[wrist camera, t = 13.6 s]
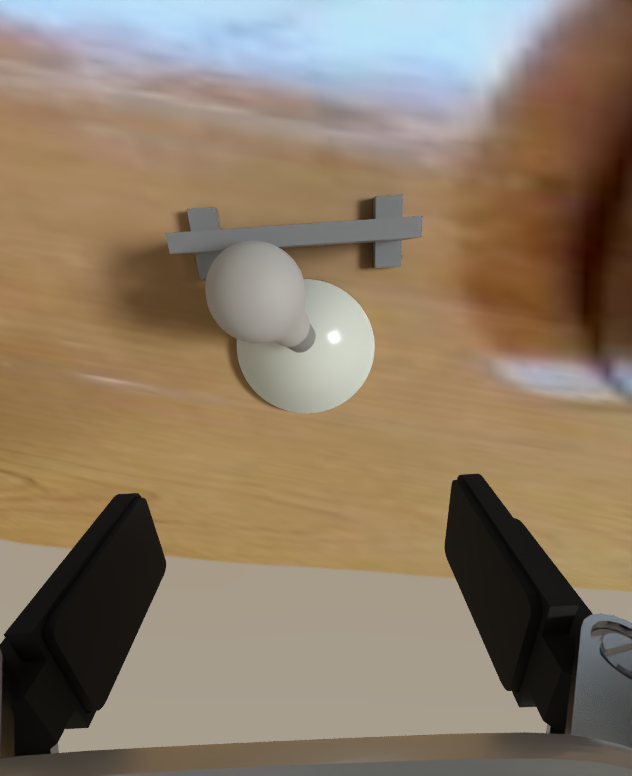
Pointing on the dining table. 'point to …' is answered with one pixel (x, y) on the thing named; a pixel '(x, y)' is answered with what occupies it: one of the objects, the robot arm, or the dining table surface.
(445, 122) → the dining table surface
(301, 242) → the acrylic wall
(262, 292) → the lightbulb
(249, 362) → the white round dome
